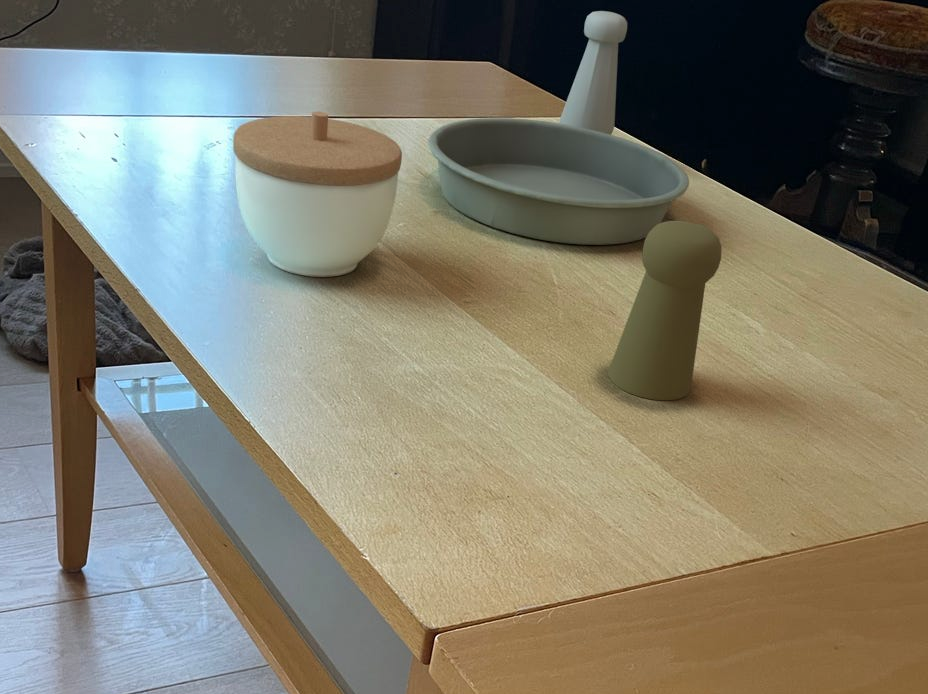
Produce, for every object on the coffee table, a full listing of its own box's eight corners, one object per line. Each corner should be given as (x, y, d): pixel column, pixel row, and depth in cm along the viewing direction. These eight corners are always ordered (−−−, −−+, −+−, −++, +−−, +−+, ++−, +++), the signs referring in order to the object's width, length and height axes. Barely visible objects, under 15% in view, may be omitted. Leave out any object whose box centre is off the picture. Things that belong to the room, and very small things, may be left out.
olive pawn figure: (708, 392, 83) (753, 239, 76) (646, 406, 79) (686, 248, 73) (652, 356, 86) (689, 207, 79) (590, 368, 83) (624, 215, 76)
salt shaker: (555, 149, 123) (578, 14, 115) (557, 135, 128) (580, 3, 120) (609, 158, 123) (636, 23, 115) (609, 143, 128) (636, 12, 120)
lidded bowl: (218, 230, 95) (218, 86, 88) (365, 230, 99) (376, 92, 92) (251, 293, 86) (254, 138, 79) (411, 289, 90) (427, 142, 83)
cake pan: (731, 238, 110) (744, 189, 107) (528, 267, 97) (537, 213, 94) (568, 155, 124) (576, 110, 121) (374, 171, 112) (378, 121, 109)
